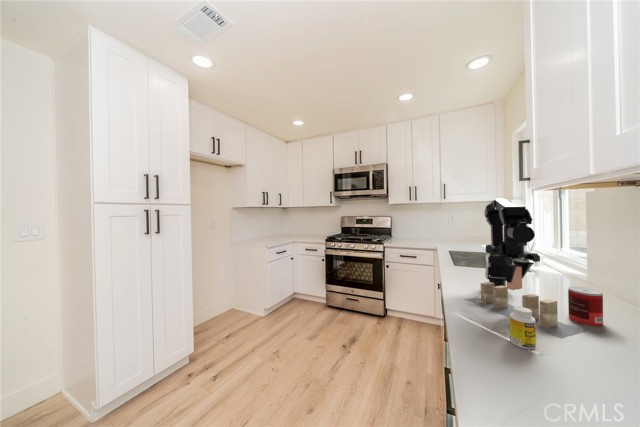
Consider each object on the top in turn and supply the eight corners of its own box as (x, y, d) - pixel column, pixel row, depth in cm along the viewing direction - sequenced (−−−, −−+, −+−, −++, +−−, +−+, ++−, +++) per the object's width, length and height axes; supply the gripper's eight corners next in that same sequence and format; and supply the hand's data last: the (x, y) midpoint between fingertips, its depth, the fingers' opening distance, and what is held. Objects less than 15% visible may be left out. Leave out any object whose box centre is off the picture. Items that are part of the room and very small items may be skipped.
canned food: (600, 321, 78) (600, 289, 78) (606, 330, 72) (605, 295, 72) (567, 315, 83) (566, 284, 83) (570, 323, 77) (569, 290, 77)
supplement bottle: (525, 351, 62) (525, 314, 62) (505, 340, 67) (504, 306, 67) (541, 348, 63) (540, 312, 63) (519, 338, 69) (519, 304, 69)
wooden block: (539, 325, 75) (539, 300, 75) (549, 322, 76) (549, 298, 76) (547, 328, 73) (547, 303, 73) (557, 325, 75) (557, 301, 74)
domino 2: (493, 307, 89) (492, 286, 89) (502, 305, 91) (502, 285, 91) (498, 309, 87) (498, 288, 87) (507, 307, 89) (507, 287, 89)
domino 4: (522, 318, 80) (522, 295, 80) (532, 316, 81) (531, 293, 81) (529, 321, 78) (528, 297, 78) (539, 318, 79) (538, 295, 79)
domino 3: (506, 288, 84) (506, 266, 84) (516, 286, 86) (515, 265, 86) (512, 290, 83) (512, 268, 83) (522, 288, 84) (521, 266, 84)
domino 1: (480, 302, 94) (480, 283, 94) (489, 300, 96) (489, 281, 96) (485, 304, 92) (485, 284, 92) (494, 302, 94) (494, 283, 94)
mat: (484, 296, 101) (484, 295, 101) (585, 332, 71) (585, 331, 71) (463, 300, 98) (463, 299, 98) (560, 339, 67) (560, 338, 67)
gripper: (507, 235, 95) (508, 273, 95) (473, 238, 89) (474, 278, 89) (540, 238, 84) (541, 281, 84) (504, 241, 78) (505, 287, 79)
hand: (514, 281), depth 84 cm, fingers closed on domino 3, 5 cm apart
